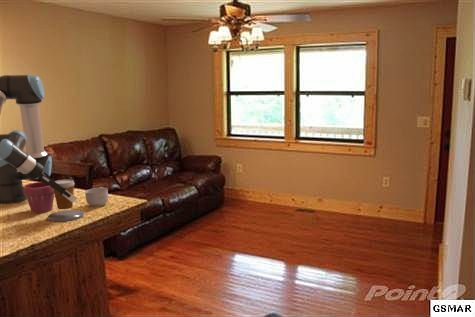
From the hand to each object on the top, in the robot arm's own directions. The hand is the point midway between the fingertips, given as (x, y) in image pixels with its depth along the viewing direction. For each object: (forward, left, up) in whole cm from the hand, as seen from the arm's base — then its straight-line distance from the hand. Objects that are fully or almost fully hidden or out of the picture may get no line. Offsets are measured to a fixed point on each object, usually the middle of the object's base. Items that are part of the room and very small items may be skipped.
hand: (71, 198), depth 191 cm
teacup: (-16, +11, -8) cm, 21 cm away
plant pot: (-14, -15, -8) cm, 22 cm away
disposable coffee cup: (+1, -3, -4) cm, 5 cm away
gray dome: (+1, -3, -8) cm, 9 cm away
